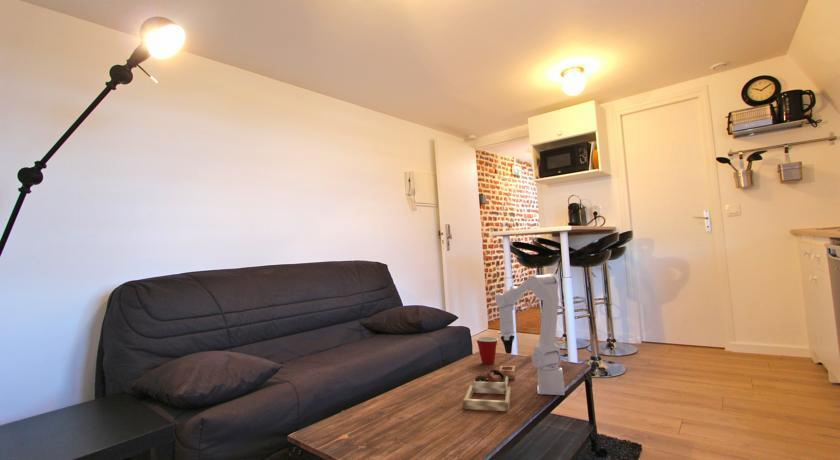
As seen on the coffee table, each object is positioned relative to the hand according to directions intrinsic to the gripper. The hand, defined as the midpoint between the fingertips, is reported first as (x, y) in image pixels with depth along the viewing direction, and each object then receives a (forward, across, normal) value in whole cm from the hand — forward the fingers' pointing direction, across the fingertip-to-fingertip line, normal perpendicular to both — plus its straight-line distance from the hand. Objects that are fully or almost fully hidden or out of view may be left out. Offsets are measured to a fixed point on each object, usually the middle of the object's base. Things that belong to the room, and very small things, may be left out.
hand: (508, 353), depth 168 cm
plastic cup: (+10, -17, -11) cm, 22 cm away
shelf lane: (+9, +29, -7) cm, 31 cm away
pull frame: (+9, +11, -5) cm, 15 cm away
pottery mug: (+10, +18, -7) cm, 21 cm away
